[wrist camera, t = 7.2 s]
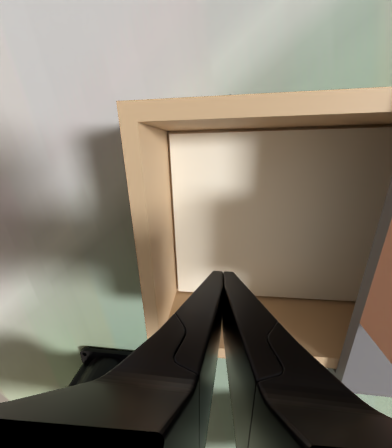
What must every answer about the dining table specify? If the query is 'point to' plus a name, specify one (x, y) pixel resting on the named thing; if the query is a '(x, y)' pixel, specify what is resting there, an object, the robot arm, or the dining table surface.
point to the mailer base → (260, 201)
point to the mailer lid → (372, 319)
